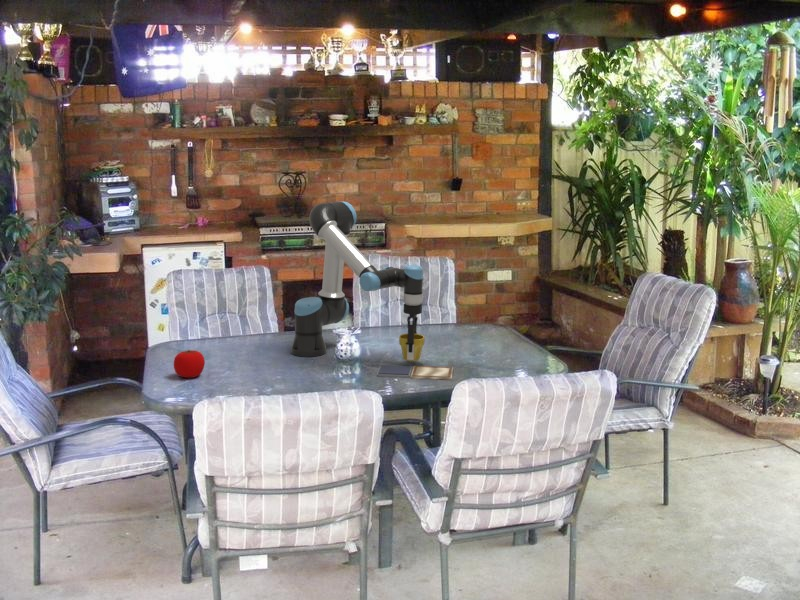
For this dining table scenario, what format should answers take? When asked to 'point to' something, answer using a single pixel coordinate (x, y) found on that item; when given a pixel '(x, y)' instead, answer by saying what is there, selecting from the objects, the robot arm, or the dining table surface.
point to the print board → (432, 372)
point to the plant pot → (417, 345)
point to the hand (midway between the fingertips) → (411, 356)
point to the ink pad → (394, 371)
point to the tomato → (189, 364)
